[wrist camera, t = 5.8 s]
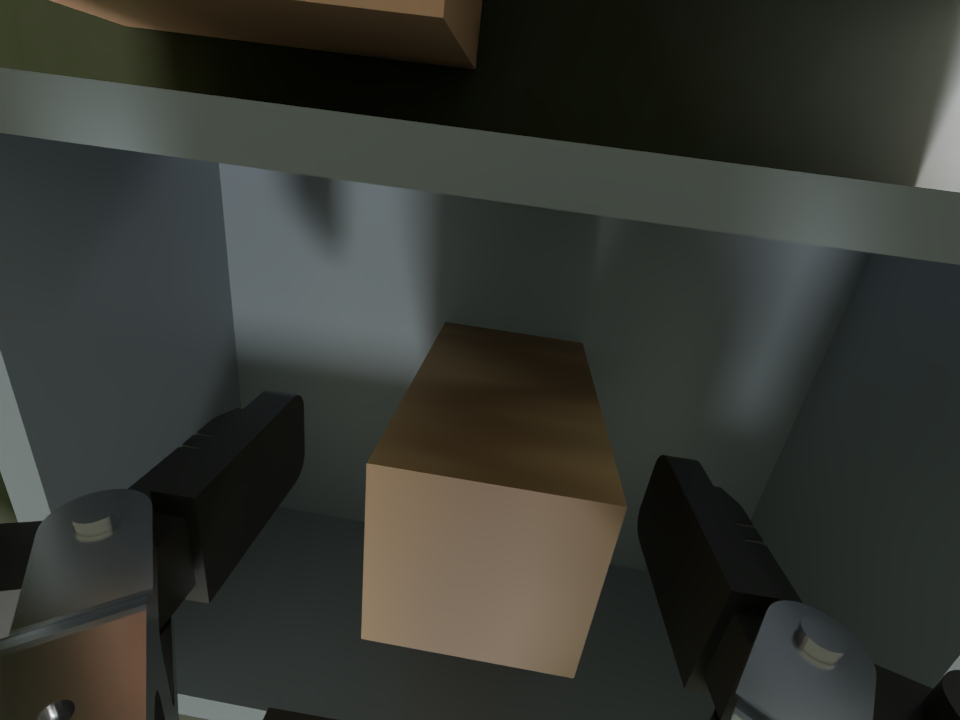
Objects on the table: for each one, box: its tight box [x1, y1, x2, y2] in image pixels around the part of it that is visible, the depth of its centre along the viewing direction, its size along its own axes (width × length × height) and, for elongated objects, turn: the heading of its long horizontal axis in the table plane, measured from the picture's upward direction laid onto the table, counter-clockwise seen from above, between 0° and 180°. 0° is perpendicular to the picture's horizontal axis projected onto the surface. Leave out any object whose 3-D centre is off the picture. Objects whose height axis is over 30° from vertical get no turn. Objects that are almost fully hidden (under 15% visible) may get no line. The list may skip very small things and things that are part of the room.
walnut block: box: [361, 322, 627, 678], centre depth 11 cm, size 4×4×7 cm
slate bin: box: [0, 68, 960, 720], centre depth 12 cm, size 19×14×7 cm
